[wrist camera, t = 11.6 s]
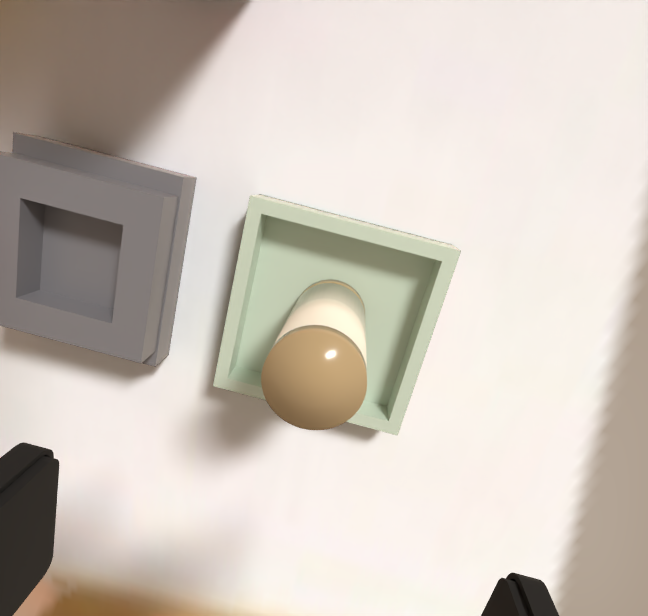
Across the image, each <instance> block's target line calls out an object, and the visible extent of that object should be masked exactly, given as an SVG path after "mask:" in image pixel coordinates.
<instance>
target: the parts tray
mask: <svg viewBox="0 0 648 616" xmlns="http://www.w3.org/2000/svg"><path fill="white" fill-rule="evenodd" d="M460 253H461V251H460V250H459V249H457V248H456V247H454V246H453V245H451V244H447V243H443V242H439V241H436V240H432V239H428V238H424V237H420V236H417V235H413V234H409V233H405V232H401V231H398V230H394V229H390V228H386V227H382V226H378V225H375V224H371V223H367V222H363V221H359V220H356V219H352V218H348V217H344V216H340V215H337V214H333V213H329V212H325V211H321V210H318V209H314V208H310V207H306V206H302V205H299V204H295V203H291V202H287V201H283V200H280V199H276V198H272V197H268V196H264V195H261V194H259V195H251V196H250V198H249V204H248V209H247V214H246V219H245V224H244V229H243V234H242V240H241V245H240V250H239V255H238V260H237V265H236V270H235V276H234V281H233V286H232V291H231V296H230V301H229V306H228V311H227V317H226V322H225V327H224V332H223V337H222V342H221V347H220V353H219V358H218V363H217V368H216V373H215V378H214V383H213V386H214V387H218V388H222V389H225V390H229V391H233V392H237V393H240V394H244V395H248V396H252V397H255V398H259V399H263V400H266V399H265V396H264V394H263V390H262V385H261V374H262V368H263V365H264V362H265V360H266V358H267V356H268V354H269V352H270V351H271V349H272V347H273V345H274V343H275V341H276V339H277V338H278V336H279V334H280V332H281V330H282V328H283V327H284V325H285V323H286V321H287V319H288V317H289V315H290V314H291V312H292V310H293V308H294V306H295V304H296V303H297V301H298V299H299V297H300V295H301V294H302V292H303V291H304V290H305V289H306V288H307V287H308V286H310V285H311V284H313V283H315V282H318V281H321V280H327V279H332V280H339V281H342V282H345V283H347V284H348V285H350V286H351V287H353V288H354V289H355V290H356V291H357V292H358V293H359V295H360V296H361V298H362V300H363V303H364V306H365V320H366V361H367V391H366V395H365V398H364V401H363V403H362V405H361V407H360V408H359V410H358V411H357V412H356V414H355V415H354V416H352V417H351V418H350V419H349V420H348V421H346V422H349V423H352V424H356V425H360V426H364V427H367V428H371V429H375V430H379V431H382V432H386V433H390V434H393V435H398V433H399V430H400V427H401V424H402V421H403V418H404V415H405V412H406V409H407V406H408V404H409V401H410V398H411V395H412V392H413V389H414V386H415V383H416V380H417V377H418V374H419V372H420V369H421V366H422V363H423V360H424V357H425V354H426V351H427V348H428V345H429V343H430V340H431V337H432V334H433V331H434V328H435V325H436V322H437V319H438V316H439V314H440V311H441V308H442V305H443V302H444V299H445V296H446V293H447V290H448V287H449V284H450V282H451V279H452V276H453V273H454V270H455V267H456V264H457V261H458V258H459V255H460Z"/></svg>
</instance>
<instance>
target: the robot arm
mask: <svg viewBox="0 0 648 616" xmlns="http://www.w3.org/2000/svg"><path fill="white" fill-rule="evenodd" d="M58 475H59V461H58V460H57V459H54V455H53V452H52V450H50V449H46V448H42V447H39V446H35V445H31V444H27V443H20V444H18V445H17V446H15V447H14V448H12V449H11V450H10V451H9V452H7V453H6V454H5V455H4V456H2V457H1V458H0V616H12V615H13V614H14V613H15V612H16V611H17V609H18V608H19V607H20V606H21V604H22V603H23V602H24V600H25V599H26V598H27V597H28V595H29V594H30V593H31V592H32V590H33V589H34V588H35V586H36V585H37V584H38V583H39V581H40V580H41V579H42V578H43V576H44V575H45V573H46V572H47V570H48V568H49V566H50V564H51V561H52V557H53V547H54V533H55V518H56V504H57V490H58ZM481 616H559V615H558V612H557V610H556V608H555V605H554V603H553V601H552V599H551V596H550V594H549V592H548V590H547V588H546V586H545V584H544V583H543V582H542V581H541V580H539V579H535V578H531V577H527V576H524V575H520V574H516V573H510V574H509V575H508V576H507V578H506V579H505V578H501V579H500V580H499V581H498V583H497V585H496V587H495V589H494V591H493V593H492V595H491V597H490V599H489V601H488V603H487V605H486V607H485V609H484V611H483V613H482V615H481Z"/></svg>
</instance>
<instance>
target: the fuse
mask: <svg viewBox="0 0 648 616" xmlns="http://www.w3.org/2000/svg"><path fill="white" fill-rule="evenodd" d="M261 385H262V390H263V394H264V396H265V399H266V401H267V402H268V404H269V406H270V407H271V408H272V410H273V411H274V412H275V413H276V414H277V415H278V416H279V417H280V418H282V419H283V420H284V421H286V422H288V423H290V424H292V425H294V426H296V427H299V428H303V429H308V430H325V429H330V428H334V427H336V426H339V425H341V424H343V423H345V422H346V421H348V420H349V419H350V418H351V417H352V416H354V415H355V414H356V412H357V411H358V410H359V408H360V407H361V405H362V403H363V401H364V398H365V395H366V391H367V361H366V320H365V306H364V303H363V300H362V298H361V296H360V295H359V293H358V292H357V291H356V290H355V289H354V288H353V287H351V286H350V285H348V284H347V283H345V282H342V281H339V280H332V279H327V280H321V281H318V282H315V283H313V284H311V285H310V286H308V287H307V288H306V289H305V290H304V291H303V292H302V294H301V295H300V297H299V299H298V301H297V303H296V304H295V306H294V308H293V310H292V312H291V314H290V315H289V317H288V319H287V321H286V323H285V325H284V327H283V328H282V330H281V332H280V334H279V336H278V338H277V339H276V341H275V343H274V345H273V347H272V349H271V351H270V352H269V354H268V356H267V358H266V360H265V362H264V365H263V368H262V374H261Z"/></svg>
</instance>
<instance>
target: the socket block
mask: <svg viewBox="0 0 648 616" xmlns="http://www.w3.org/2000/svg"><path fill="white" fill-rule="evenodd" d="M195 184H196V177H192V176H188V175H185V174H181V173H177V172H173V171H169V170H166V169H162V168H158V167H154V166H150V165H146V164H143V163H139V162H135V161H131V160H127V159H124V158H120V157H116V156H112V155H108V154H105V153H101V152H97V151H93V150H89V149H86V148H82V147H78V146H74V145H70V144H67V143H63V142H59V141H55V140H51V139H48V138H44V137H40V136H34V135H27V134H20V133H13V153H9V152H0V326H4V327H7V328H11V329H15V330H19V331H22V332H26V333H30V334H34V335H37V336H41V337H45V338H49V339H52V340H56V341H60V342H64V343H67V344H71V345H75V346H78V347H82V348H86V349H90V350H93V351H97V352H101V353H105V354H108V355H112V356H116V357H120V358H123V359H127V360H131V361H135V362H138V363H144V364H147V365H151V366H157V365H158V364H159V363H160V362H161V361H162V360H163V359H164V358H166V357H167V356H168V355H169V348H170V342H171V336H172V329H173V323H174V317H175V311H176V304H177V298H178V292H179V285H180V279H181V273H182V266H183V260H184V254H185V247H186V241H187V235H188V228H189V222H190V216H191V209H192V203H193V197H194V190H195Z"/></svg>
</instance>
